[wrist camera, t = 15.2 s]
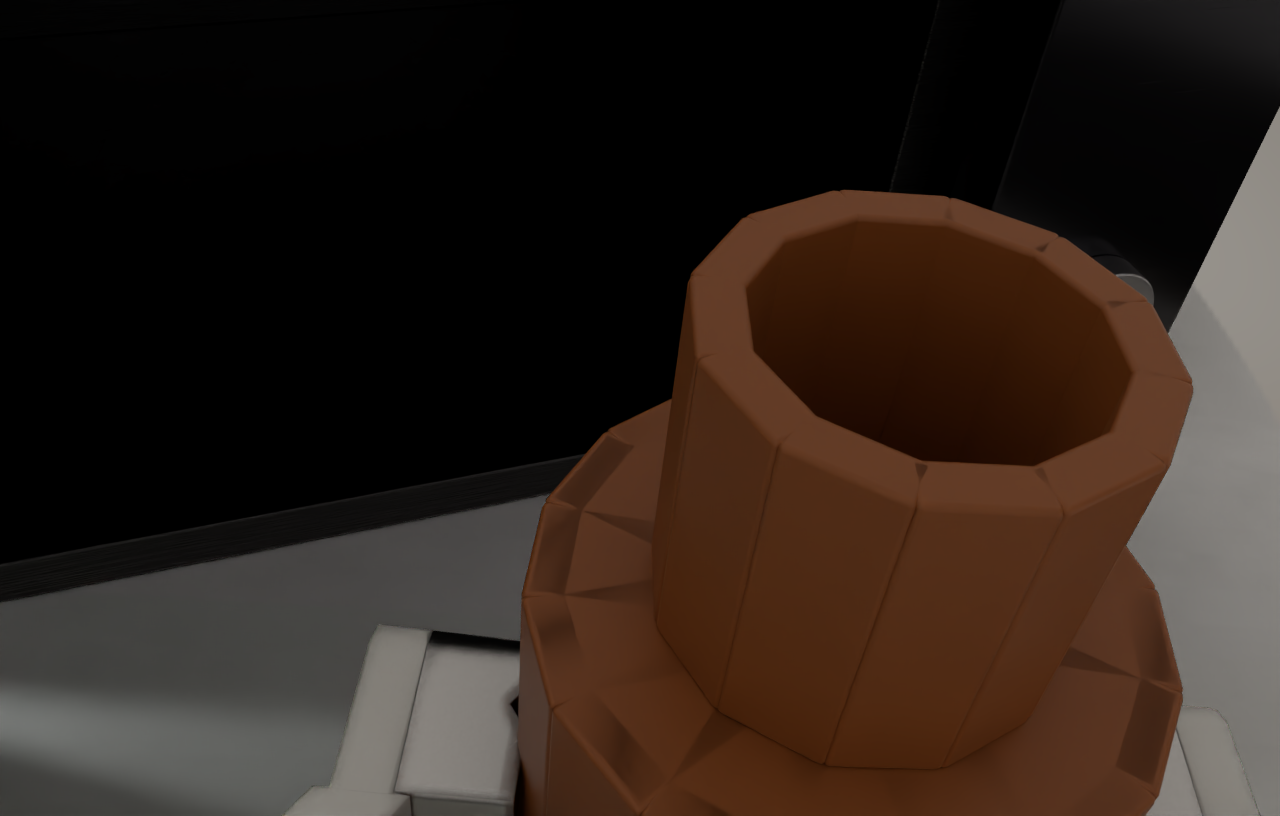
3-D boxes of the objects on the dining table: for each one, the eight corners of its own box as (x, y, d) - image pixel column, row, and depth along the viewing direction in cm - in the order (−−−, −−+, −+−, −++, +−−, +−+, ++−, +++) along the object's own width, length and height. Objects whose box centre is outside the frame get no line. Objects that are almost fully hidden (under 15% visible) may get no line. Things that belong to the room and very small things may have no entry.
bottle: (800, 1371, 13) (1306, 850, 5) (435, 1117, 14) (361, 398, 6) (941, 976, 16) (1388, 269, 8) (631, 802, 17) (746, 58, 9)
